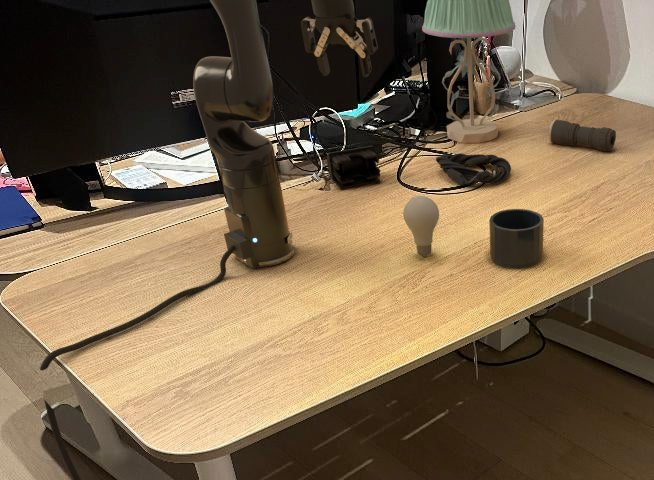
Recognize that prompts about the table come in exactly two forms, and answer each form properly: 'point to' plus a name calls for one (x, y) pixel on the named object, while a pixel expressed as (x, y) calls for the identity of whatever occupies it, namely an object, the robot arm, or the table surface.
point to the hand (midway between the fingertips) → (346, 75)
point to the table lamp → (469, 54)
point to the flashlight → (581, 135)
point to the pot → (516, 238)
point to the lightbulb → (421, 222)
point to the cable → (470, 176)
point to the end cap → (354, 167)
